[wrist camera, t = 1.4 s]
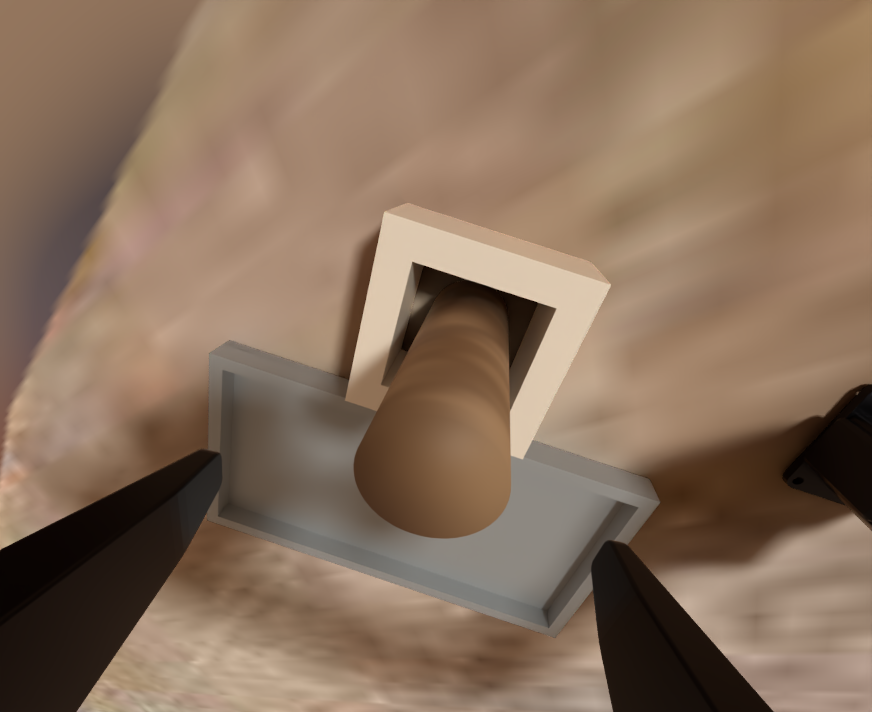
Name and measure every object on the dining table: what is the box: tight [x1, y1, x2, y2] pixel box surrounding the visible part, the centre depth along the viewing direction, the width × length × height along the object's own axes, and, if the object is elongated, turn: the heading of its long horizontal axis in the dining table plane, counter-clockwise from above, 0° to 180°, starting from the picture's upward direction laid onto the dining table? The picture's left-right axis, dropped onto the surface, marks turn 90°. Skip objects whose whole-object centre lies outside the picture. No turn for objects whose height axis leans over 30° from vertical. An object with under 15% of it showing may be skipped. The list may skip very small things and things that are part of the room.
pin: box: [353, 280, 511, 539], centre depth 15 cm, size 4×4×12 cm
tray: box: [207, 340, 660, 638], centre depth 26 cm, size 26×14×2 cm, turn 74°
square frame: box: [345, 203, 611, 459], centre depth 19 cm, size 9×9×4 cm
